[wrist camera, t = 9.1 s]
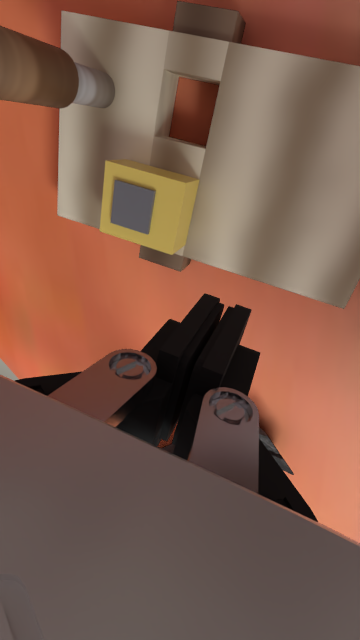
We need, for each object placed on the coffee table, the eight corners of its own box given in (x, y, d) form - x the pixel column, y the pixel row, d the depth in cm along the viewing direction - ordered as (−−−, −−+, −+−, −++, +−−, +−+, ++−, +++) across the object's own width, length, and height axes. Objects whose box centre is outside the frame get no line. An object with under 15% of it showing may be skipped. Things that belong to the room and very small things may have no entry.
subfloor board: (458, 60, 20) (478, 47, 18) (333, 311, 29) (334, 326, 26) (87, -5, 25) (62, -22, 23) (76, 226, 34) (57, 232, 31)
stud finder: (199, 179, 25) (184, 183, 22) (185, 245, 27) (170, 256, 25) (125, 159, 26) (103, 160, 23) (118, 223, 29) (97, 232, 26)
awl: (122, 69, 24) (-24, 11, 14) (117, 118, 25) (-17, 100, 15) (84, 60, 24) (-82, 0, 14) (82, 109, 26) (-70, 86, 16)
